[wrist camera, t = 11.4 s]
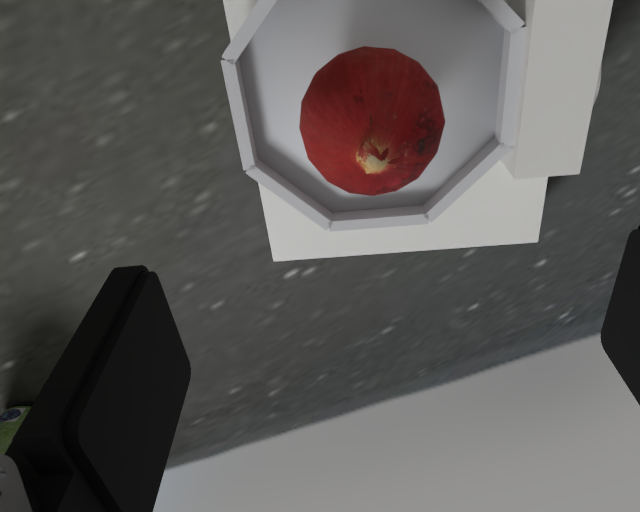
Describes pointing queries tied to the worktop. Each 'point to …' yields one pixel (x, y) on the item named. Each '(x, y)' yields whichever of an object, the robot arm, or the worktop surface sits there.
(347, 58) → the red pomegranate
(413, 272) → the worktop surface
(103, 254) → the worktop surface
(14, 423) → the beverage can
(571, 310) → the worktop surface
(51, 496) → the robot arm
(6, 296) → the worktop surface
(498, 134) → the kitchen scale
